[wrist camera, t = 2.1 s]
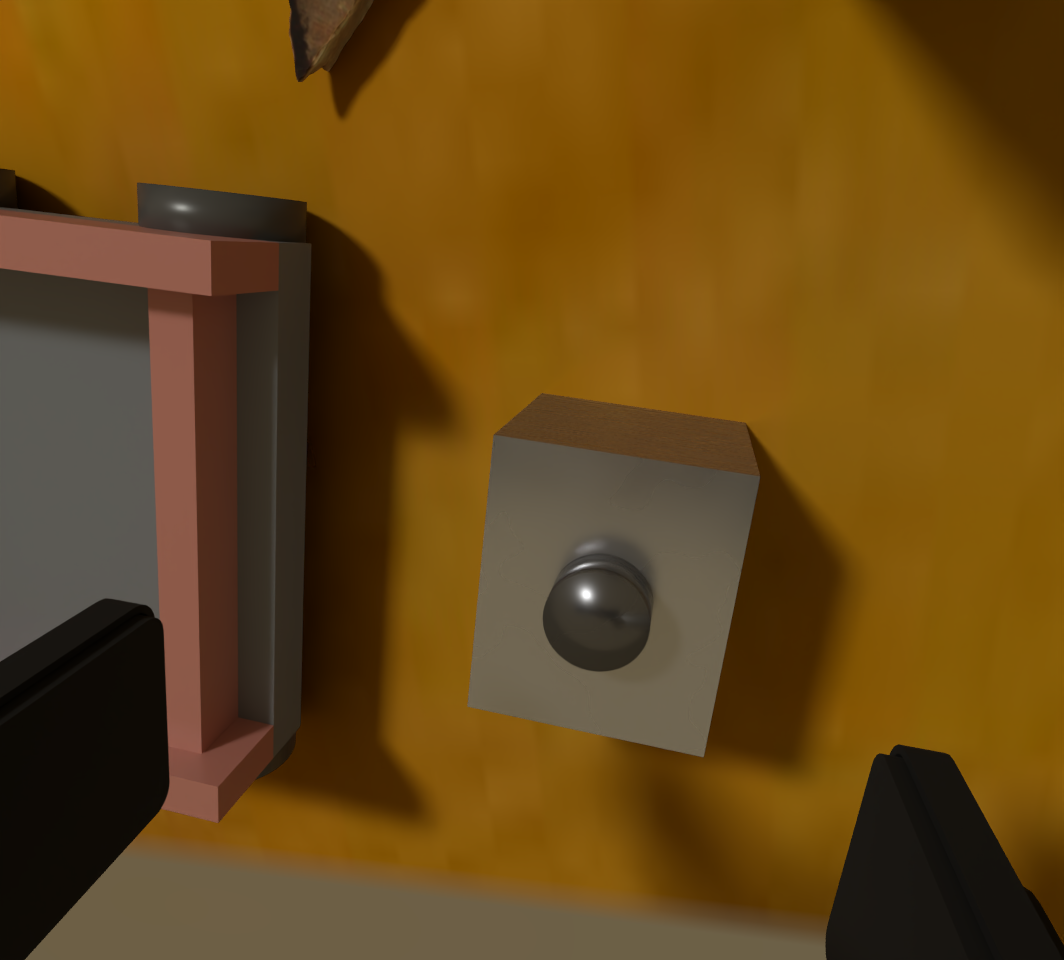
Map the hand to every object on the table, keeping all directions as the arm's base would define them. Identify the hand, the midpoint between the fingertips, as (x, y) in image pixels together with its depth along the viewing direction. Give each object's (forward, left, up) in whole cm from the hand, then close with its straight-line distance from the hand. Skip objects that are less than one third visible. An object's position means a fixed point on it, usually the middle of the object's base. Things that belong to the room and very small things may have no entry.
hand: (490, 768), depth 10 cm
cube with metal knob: (-1, 0, -11) cm, 11 cm away
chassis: (+13, +1, -11) cm, 17 cm away
